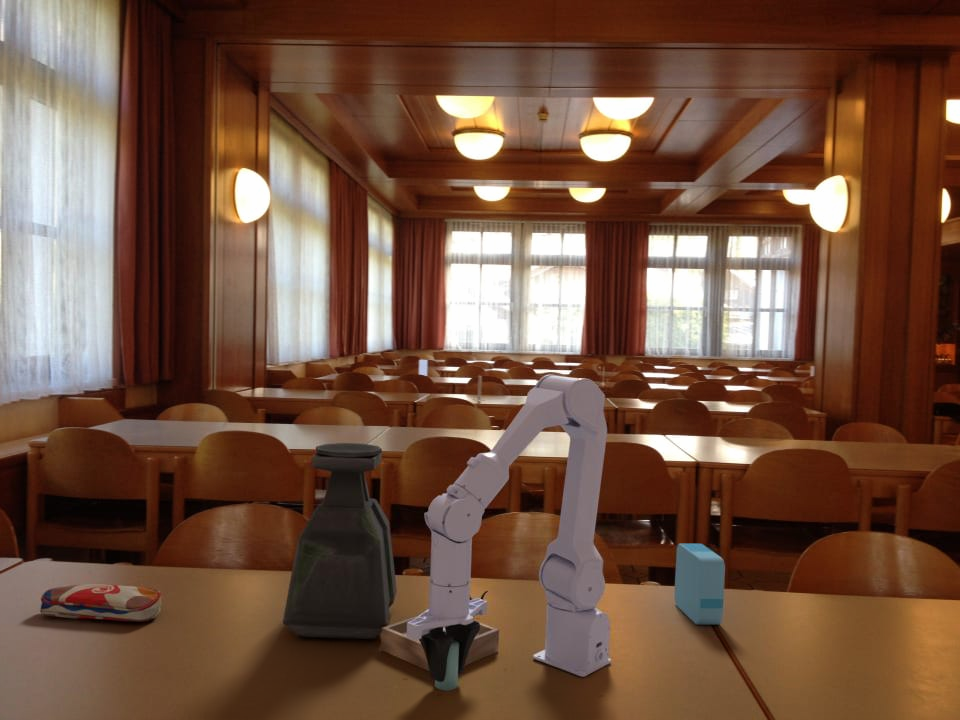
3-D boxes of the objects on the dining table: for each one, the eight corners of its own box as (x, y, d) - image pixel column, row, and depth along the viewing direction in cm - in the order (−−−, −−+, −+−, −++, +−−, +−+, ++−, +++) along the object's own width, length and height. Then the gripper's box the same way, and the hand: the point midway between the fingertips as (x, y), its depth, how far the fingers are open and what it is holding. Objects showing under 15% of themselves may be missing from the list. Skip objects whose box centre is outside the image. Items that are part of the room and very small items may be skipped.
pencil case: (122, 638, 125) (122, 606, 125) (28, 618, 132) (29, 589, 131) (171, 615, 135) (171, 586, 135) (82, 598, 142) (82, 571, 142)
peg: (462, 685, 113) (463, 643, 112) (446, 692, 110) (448, 650, 110) (445, 678, 115) (447, 637, 115) (430, 685, 112) (431, 643, 112)
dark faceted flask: (385, 647, 125) (392, 458, 124) (281, 643, 125) (286, 454, 124) (396, 607, 143) (402, 442, 142) (305, 604, 143) (310, 438, 142)
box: (498, 651, 125) (499, 629, 125) (440, 676, 115) (441, 652, 115) (439, 628, 134) (439, 608, 133) (381, 650, 124) (381, 627, 124)
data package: (722, 627, 140) (726, 559, 139) (697, 627, 139) (701, 559, 139) (696, 603, 151) (699, 541, 151) (673, 603, 151) (676, 541, 150)
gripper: (434, 599, 104) (430, 701, 104) (504, 576, 115) (500, 668, 115) (397, 586, 108) (394, 684, 109) (468, 565, 119) (465, 654, 120)
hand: (446, 675), depth 112 cm, fingers closed on peg, 3 cm apart
